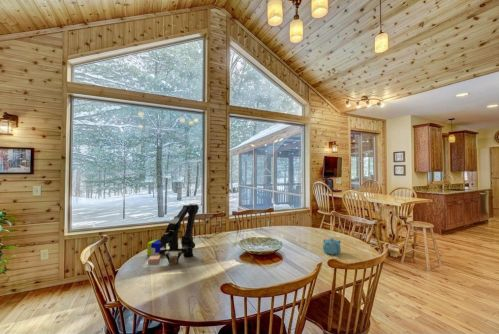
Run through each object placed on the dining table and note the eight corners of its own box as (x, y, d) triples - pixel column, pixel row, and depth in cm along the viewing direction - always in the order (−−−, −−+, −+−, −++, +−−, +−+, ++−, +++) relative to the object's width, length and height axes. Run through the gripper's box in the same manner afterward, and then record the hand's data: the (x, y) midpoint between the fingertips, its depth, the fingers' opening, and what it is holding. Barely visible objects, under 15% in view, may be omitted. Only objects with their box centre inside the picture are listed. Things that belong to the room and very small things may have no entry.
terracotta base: (160, 259, 173) (160, 255, 173) (158, 263, 166) (158, 258, 166) (150, 260, 172) (150, 255, 172) (148, 263, 165) (148, 259, 165)
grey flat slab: (170, 259, 176) (170, 257, 176) (167, 266, 162) (167, 265, 162) (146, 260, 173) (146, 259, 173) (142, 268, 159) (142, 267, 159)
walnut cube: (177, 262, 170) (177, 255, 170) (177, 265, 165) (177, 258, 165) (170, 263, 169) (170, 255, 169) (169, 265, 164) (169, 258, 164)
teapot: (332, 259, 179) (332, 243, 179) (315, 252, 193) (315, 237, 193) (349, 254, 190) (349, 239, 190) (331, 248, 204) (331, 234, 204)
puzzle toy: (159, 257, 179) (159, 244, 179) (147, 256, 181) (147, 243, 181) (166, 252, 189) (166, 240, 189) (154, 251, 191) (155, 239, 191)
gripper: (188, 236, 177) (187, 257, 177) (161, 237, 173) (161, 259, 173) (187, 240, 166) (187, 263, 166) (158, 242, 162) (158, 265, 162)
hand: (173, 262), depth 167 cm, fingers closed on walnut cube, 5 cm apart
